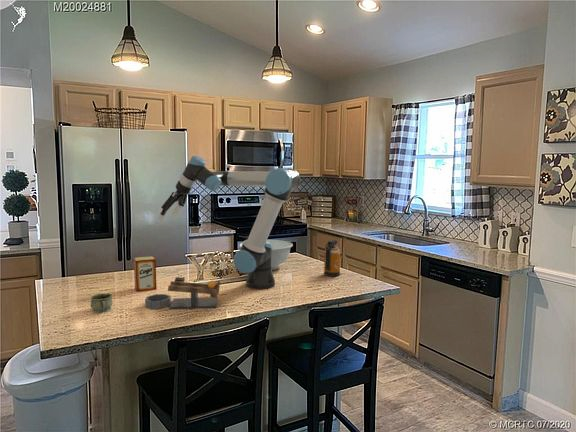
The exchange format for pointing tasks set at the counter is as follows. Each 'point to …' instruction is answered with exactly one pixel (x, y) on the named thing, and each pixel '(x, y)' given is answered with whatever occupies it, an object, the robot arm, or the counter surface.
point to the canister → (332, 259)
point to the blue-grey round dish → (158, 301)
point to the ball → (212, 284)
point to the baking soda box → (145, 273)
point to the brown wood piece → (193, 287)
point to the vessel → (101, 302)
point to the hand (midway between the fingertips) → (167, 217)
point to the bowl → (278, 252)
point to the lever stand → (194, 302)
